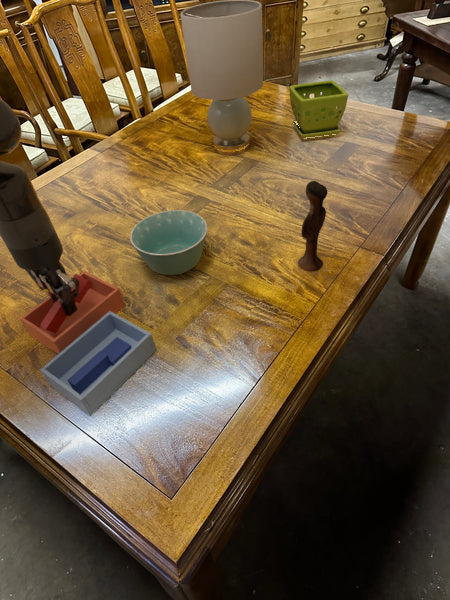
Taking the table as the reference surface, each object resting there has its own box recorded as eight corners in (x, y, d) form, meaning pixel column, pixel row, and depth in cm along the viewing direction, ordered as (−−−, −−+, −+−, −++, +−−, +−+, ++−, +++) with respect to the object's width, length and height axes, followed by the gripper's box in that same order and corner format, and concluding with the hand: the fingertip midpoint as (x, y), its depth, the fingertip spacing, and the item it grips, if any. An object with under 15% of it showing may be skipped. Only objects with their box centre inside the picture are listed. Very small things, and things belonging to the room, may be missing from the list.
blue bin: (90, 416, 65) (81, 400, 61) (50, 385, 69) (39, 369, 66) (156, 350, 73) (151, 333, 70) (116, 327, 78) (109, 310, 74)
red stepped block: (59, 336, 75) (48, 331, 73) (46, 328, 77) (36, 323, 75) (92, 283, 77) (83, 277, 75) (80, 276, 79) (71, 270, 76)
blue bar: (83, 397, 67) (78, 387, 65) (69, 386, 68) (63, 377, 67) (133, 350, 73) (129, 340, 71) (118, 341, 74) (114, 332, 73)
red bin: (63, 358, 73) (54, 341, 70) (29, 334, 78) (19, 318, 75) (125, 305, 82) (119, 288, 78) (91, 287, 86) (84, 270, 83)
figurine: (310, 249, 89) (316, 170, 76) (331, 257, 86) (340, 177, 74) (291, 267, 85) (293, 188, 73) (312, 276, 83) (319, 196, 70)
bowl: (165, 233, 98) (158, 203, 92) (224, 248, 92) (221, 217, 86) (124, 275, 88) (113, 243, 82) (187, 295, 82) (180, 262, 76)
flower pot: (344, 138, 124) (349, 93, 116) (298, 145, 124) (300, 100, 115) (329, 120, 134) (333, 78, 126) (287, 127, 134) (288, 84, 125)
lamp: (273, 154, 121) (272, 9, 96) (206, 167, 119) (187, 22, 94) (254, 128, 135) (249, -5, 111) (193, 139, 133) (174, 7, 109)
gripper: (-17, 233, 66) (29, 309, 78) (35, 260, 60) (76, 338, 72) (23, 209, 70) (61, 285, 82) (75, 233, 64) (108, 311, 76)
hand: (67, 310), depth 77 cm, fingers closed on red stepped block, 2 cm apart
